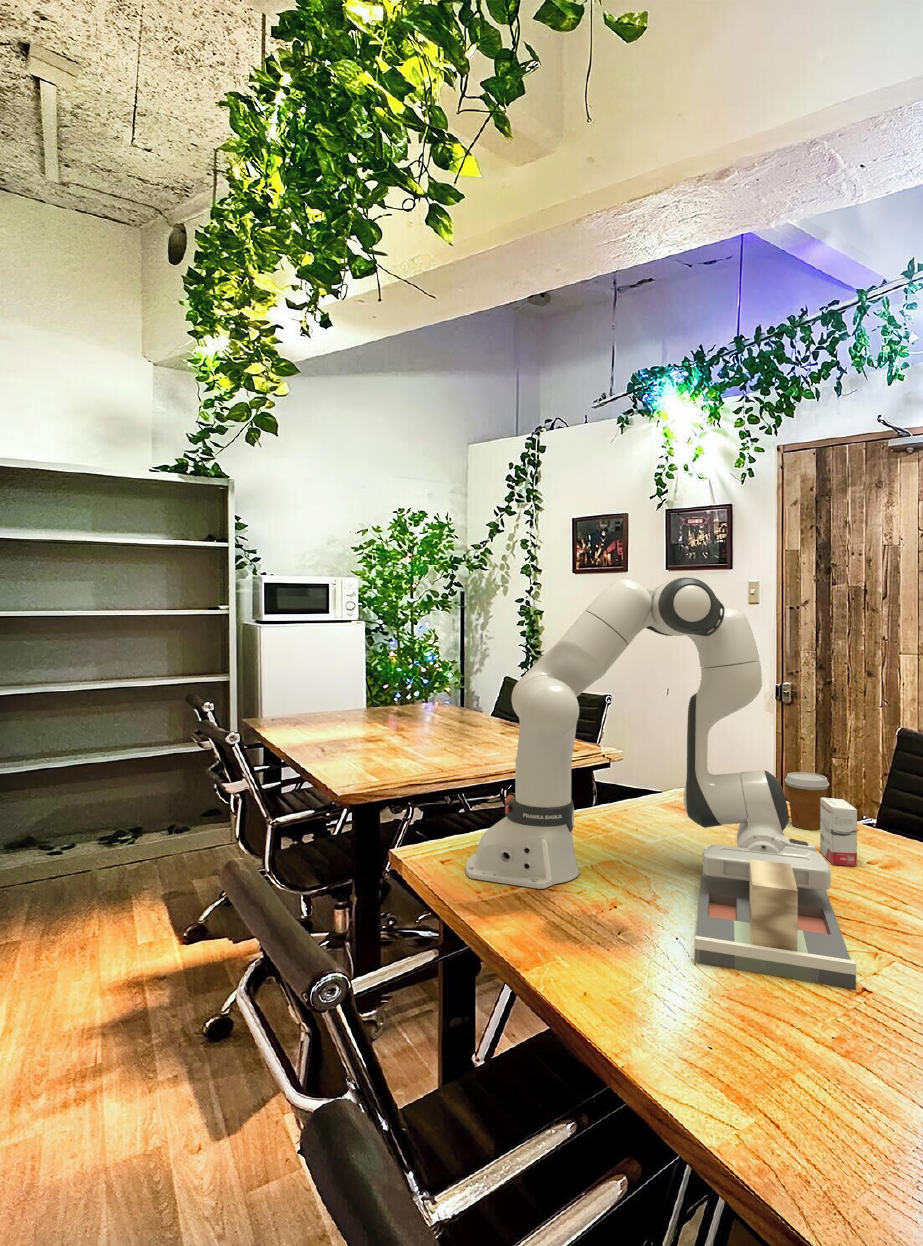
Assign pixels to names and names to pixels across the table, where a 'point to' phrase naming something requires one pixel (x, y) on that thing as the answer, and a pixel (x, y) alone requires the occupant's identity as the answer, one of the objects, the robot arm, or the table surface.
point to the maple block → (773, 905)
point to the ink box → (838, 831)
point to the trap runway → (730, 947)
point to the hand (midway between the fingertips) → (766, 883)
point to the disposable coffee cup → (806, 798)
